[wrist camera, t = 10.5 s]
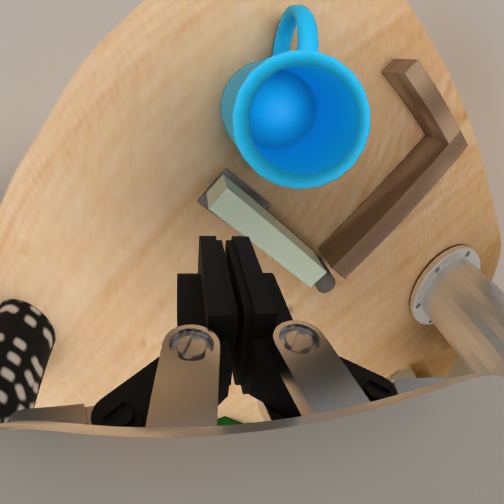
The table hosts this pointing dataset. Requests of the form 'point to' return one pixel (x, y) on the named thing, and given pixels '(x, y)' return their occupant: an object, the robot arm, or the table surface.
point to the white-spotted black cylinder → (22, 355)
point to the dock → (398, 182)
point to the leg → (264, 230)
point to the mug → (297, 110)
